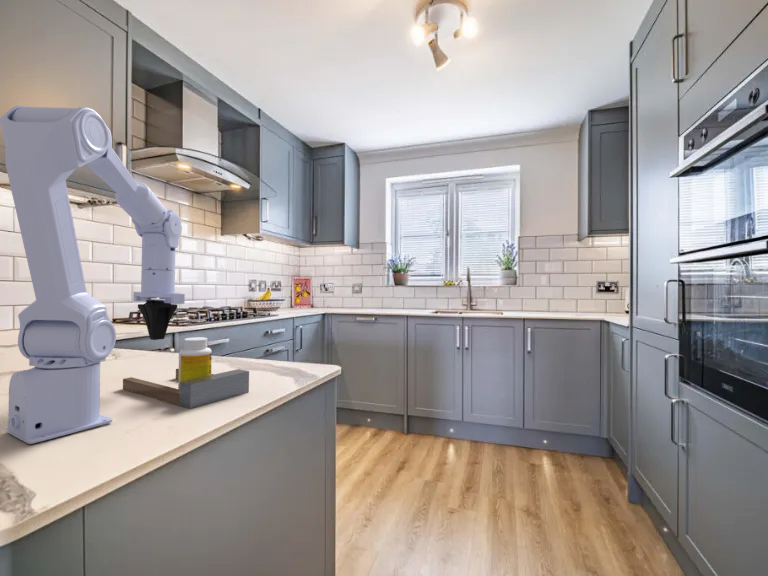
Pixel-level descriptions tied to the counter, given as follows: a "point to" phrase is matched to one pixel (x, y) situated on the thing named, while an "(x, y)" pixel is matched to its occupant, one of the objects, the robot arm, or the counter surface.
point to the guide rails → (153, 389)
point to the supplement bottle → (194, 359)
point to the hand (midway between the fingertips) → (157, 339)
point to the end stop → (213, 388)
